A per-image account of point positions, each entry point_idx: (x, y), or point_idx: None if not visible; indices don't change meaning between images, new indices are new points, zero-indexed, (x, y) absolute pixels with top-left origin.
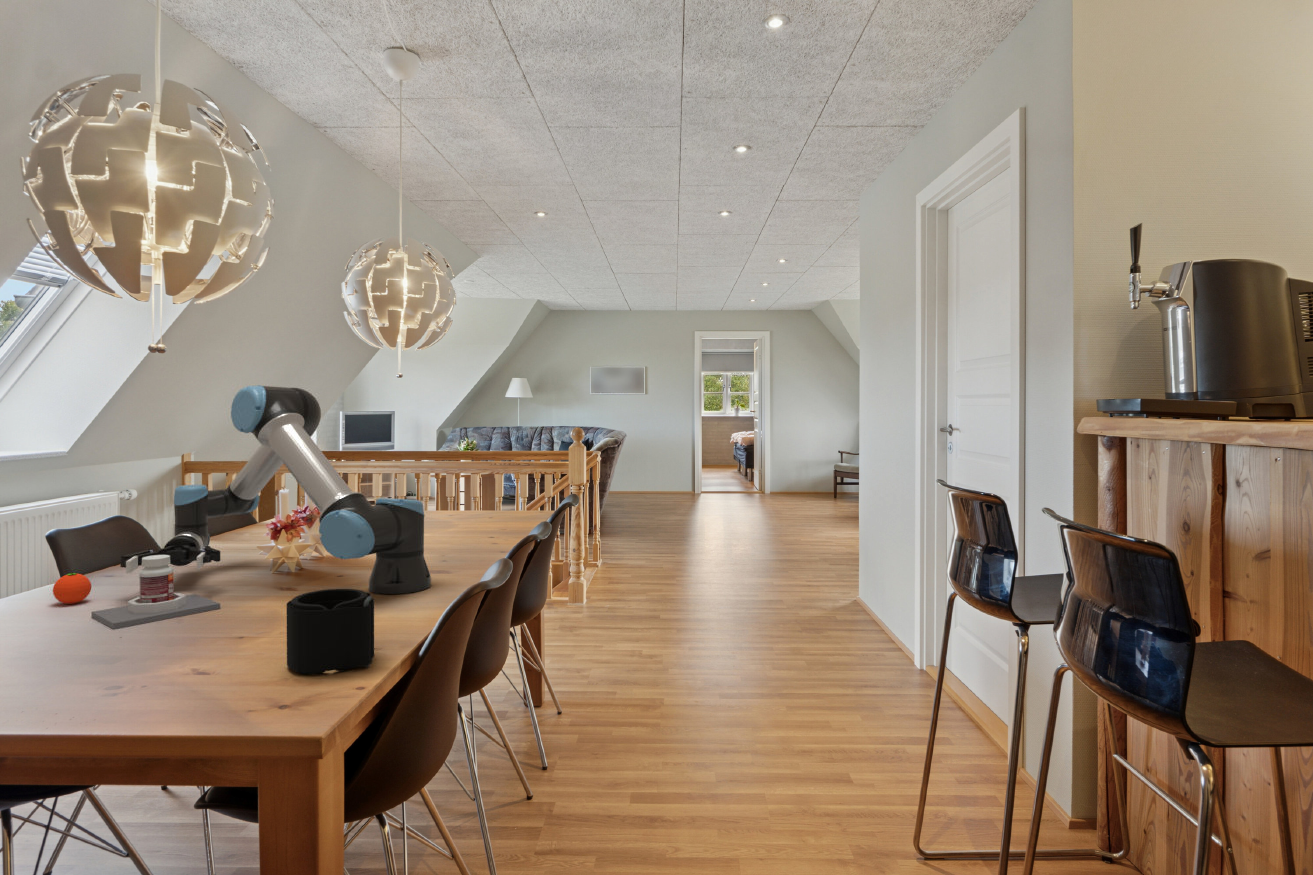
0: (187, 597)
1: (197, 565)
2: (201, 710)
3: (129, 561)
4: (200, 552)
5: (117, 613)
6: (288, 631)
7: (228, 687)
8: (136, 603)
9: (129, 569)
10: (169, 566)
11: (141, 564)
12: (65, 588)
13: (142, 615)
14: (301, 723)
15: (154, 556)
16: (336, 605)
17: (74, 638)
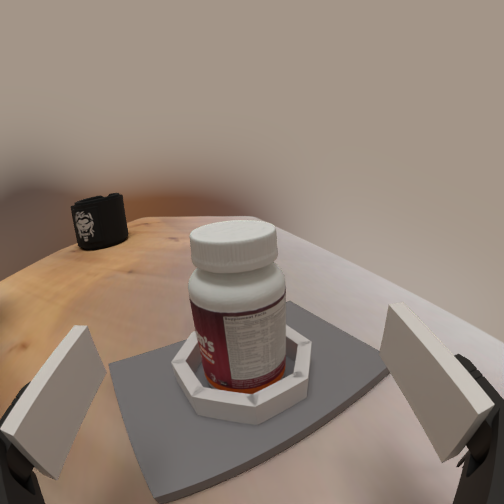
0: (176, 455)
1: (98, 359)
2: (177, 222)
3: (390, 305)
4: (10, 497)
5: (321, 345)
6: (124, 211)
7: (162, 230)
8: None
9: (383, 339)
10: (196, 275)
11: (456, 497)
12: None
13: None
14: (145, 219)
15: (241, 234)
16: (102, 196)
17: (324, 289)
